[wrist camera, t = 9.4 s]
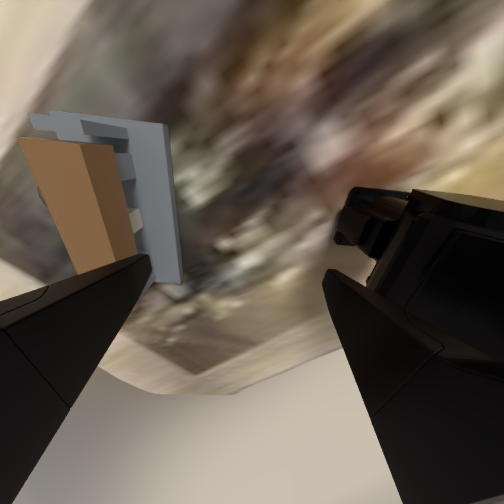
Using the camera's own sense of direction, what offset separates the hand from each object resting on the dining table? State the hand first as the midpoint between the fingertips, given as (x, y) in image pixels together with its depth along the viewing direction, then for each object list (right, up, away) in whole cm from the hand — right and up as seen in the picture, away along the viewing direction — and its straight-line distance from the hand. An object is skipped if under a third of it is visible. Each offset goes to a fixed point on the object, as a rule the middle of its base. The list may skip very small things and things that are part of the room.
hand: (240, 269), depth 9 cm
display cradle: (-12, +5, +11) cm, 17 cm away
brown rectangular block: (-12, +3, +7) cm, 14 cm away
